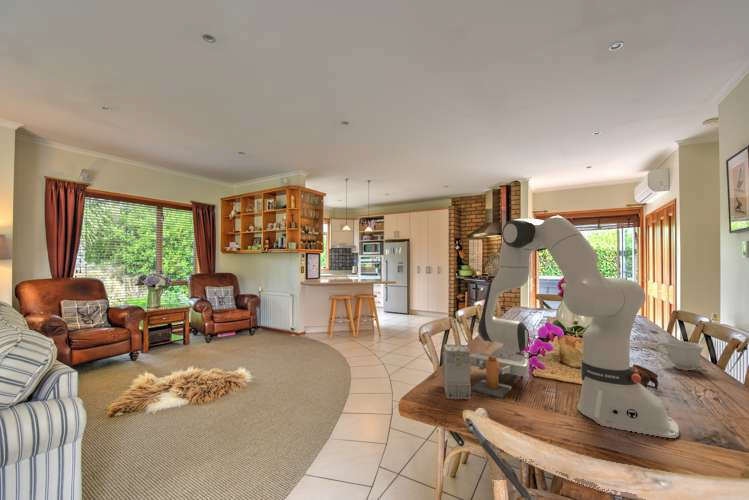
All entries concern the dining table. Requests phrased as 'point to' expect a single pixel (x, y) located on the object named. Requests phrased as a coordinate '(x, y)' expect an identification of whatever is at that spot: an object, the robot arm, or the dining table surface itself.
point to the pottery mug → (646, 375)
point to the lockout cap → (492, 372)
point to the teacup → (682, 353)
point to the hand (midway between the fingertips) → (490, 369)
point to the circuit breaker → (456, 371)
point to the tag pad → (494, 392)
